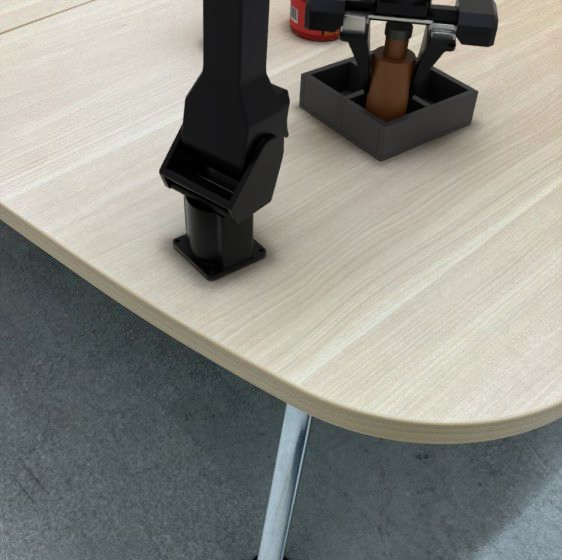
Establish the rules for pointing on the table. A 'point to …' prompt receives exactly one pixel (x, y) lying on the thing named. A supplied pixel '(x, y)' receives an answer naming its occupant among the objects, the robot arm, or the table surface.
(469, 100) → the holder
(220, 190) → the robot arm
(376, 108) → the spice bottle
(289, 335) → the table surface
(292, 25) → the canned food
